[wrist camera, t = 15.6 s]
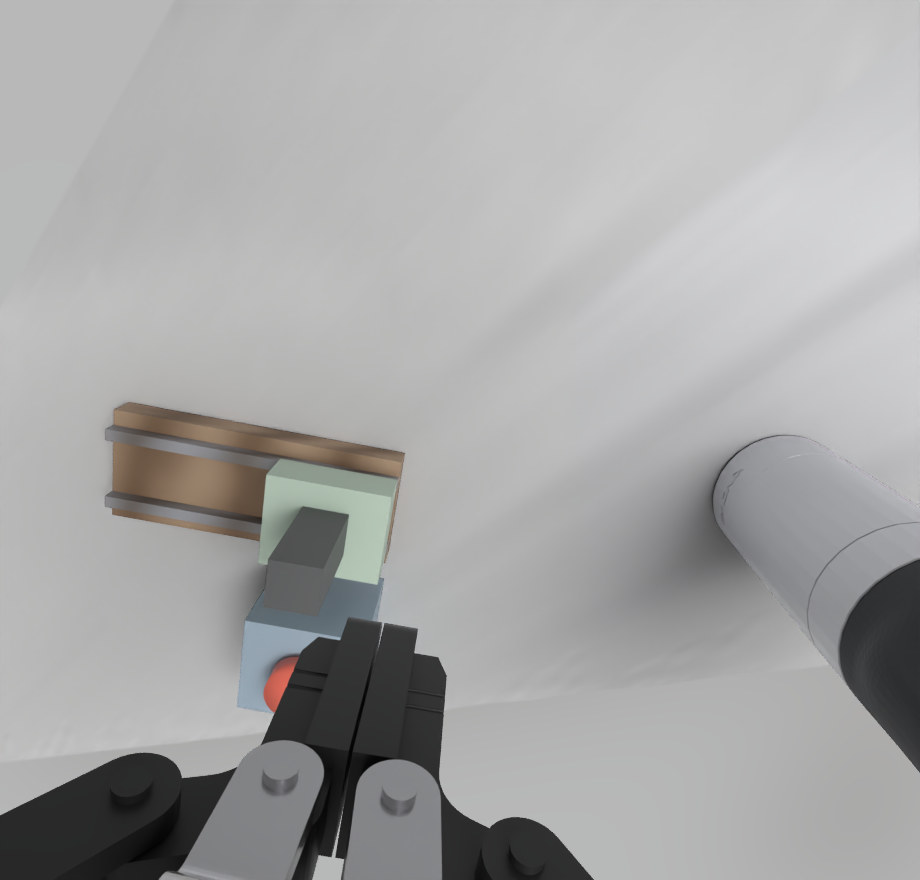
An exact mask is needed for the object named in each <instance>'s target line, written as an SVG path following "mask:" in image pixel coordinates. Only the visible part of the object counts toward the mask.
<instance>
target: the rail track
mask: <svg viewBox="0 0 920 880" xmlns="http://www.w3.org/2000/svg"><path fill="white" fill-rule="evenodd" d="M105 440H107V441H113V491H112V492H110V493H109V494H107V495H106V496H105V507H110V508H112V515H117V516H123V517H129V518H134V519H140V520H145V521H151V522H156V523H162V524H168V525H173V526H179V527H184V528H190V529H195V530H201V531H207V532H212V533H218V534H223V535H229V536H234V537H240V538H246V539H251V540H257V541H260V536H261V525H262V515H263V504H264V494H265V483H266V474H267V473H268V472H269V471H270V470H271V469H272V468H273V467H274V465H275V464H276V463H277V462H278V461H279V460H280V459H285V460H291V461H296V462H302V463H307V464H313V465H318V466H324V467H329V468H335V469H340V470H346V471H351V472H357V473H362V474H368V475H373V476H378V477H384V478H389V479H395V480H397V486H396V492H395V498H394V505H393V511H392V517H391V523H390V529H389V535H388V541H387V547H386V553H385V559H384V563H385V561H386V558H387V555H388V551H389V546H390V540H391V534H392V528H393V522H394V516H395V510H396V504H397V498H398V492H399V485H400V479H401V473H402V467H403V461H404V455H405V453H402V452H396V451H391V450H385V449H380V448H374V447H369V446H364V445H358V444H353V443H347V442H342V441H336V440H331V439H326V438H320V437H315V436H309V435H304V434H298V433H293V432H288V431H282V430H277V429H271V428H266V427H260V426H255V425H249V424H244V423H239V422H233V421H228V420H222V419H217V418H211V417H206V416H201V415H195V414H190V413H184V412H179V411H173V410H168V409H162V408H157V407H152V406H146V405H141V404H135V403H130V402H129V403H127V404H125V405H123V406H121V407H118V408H116V409H114V425H112V426H110V427H108V428H107V429H105Z"/></svg>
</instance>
